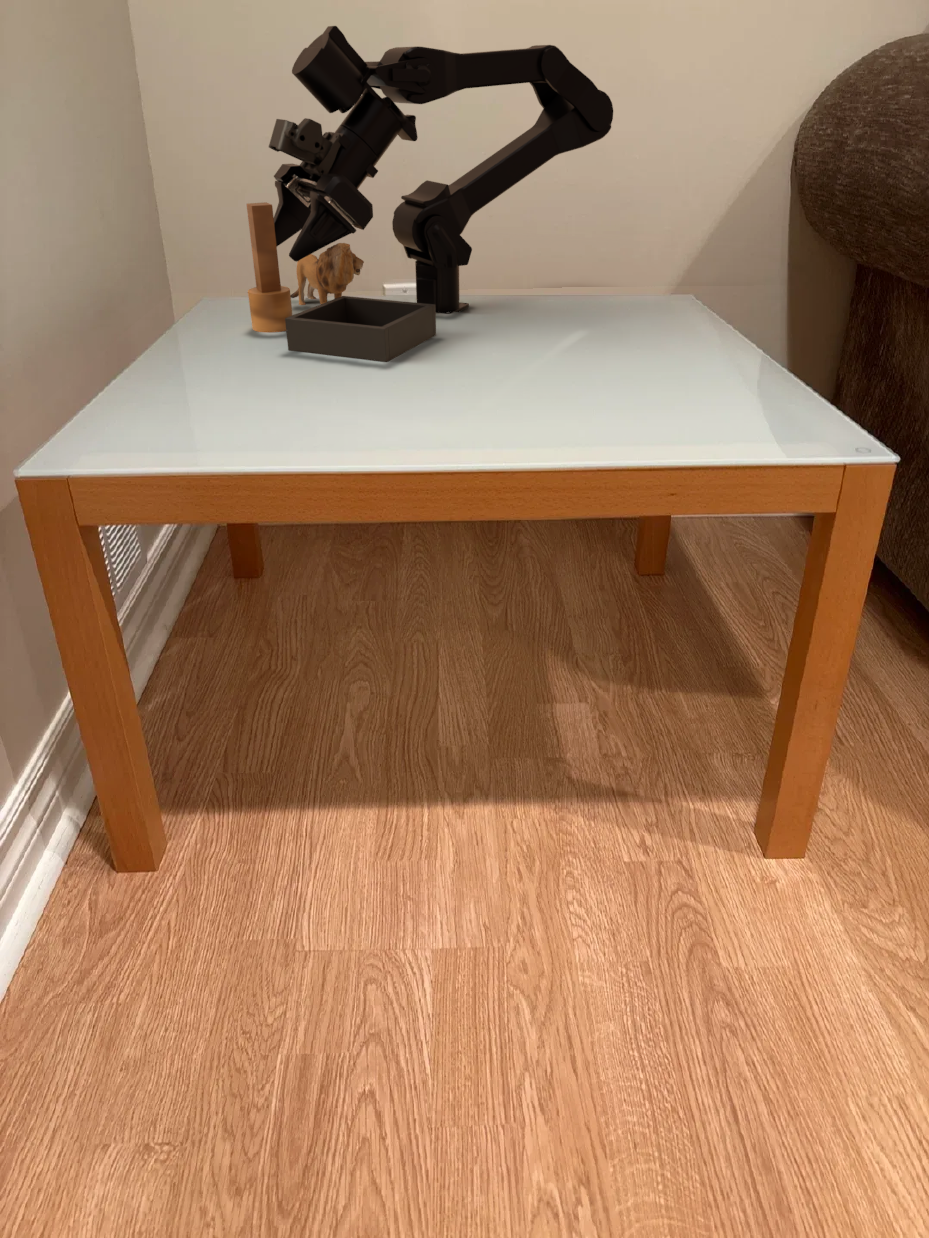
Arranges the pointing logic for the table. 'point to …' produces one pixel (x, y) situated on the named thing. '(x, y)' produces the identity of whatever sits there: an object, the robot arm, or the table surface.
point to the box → (361, 328)
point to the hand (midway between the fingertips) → (279, 252)
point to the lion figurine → (327, 272)
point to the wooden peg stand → (266, 273)
